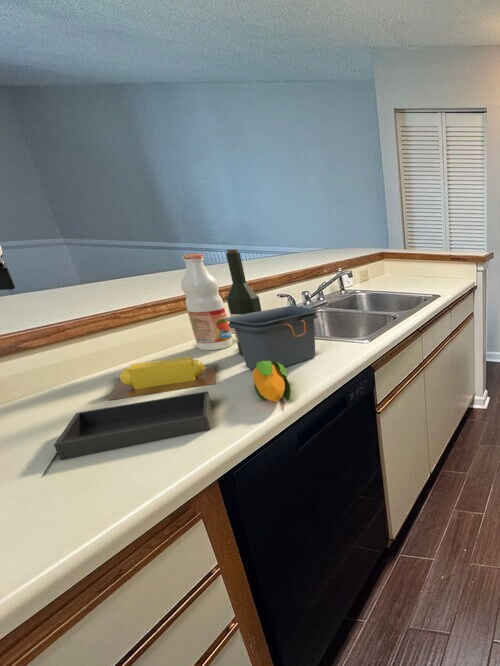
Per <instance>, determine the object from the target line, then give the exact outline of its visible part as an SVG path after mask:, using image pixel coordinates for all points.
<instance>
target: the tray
mask: <svg viewBox="0 0 500 666" xmlns="http://www.w3.org/2000/svg"><path fill="white" fill-rule="evenodd" d="M211 425H212V400H211V397H210V393H209V391H208V390H207V391H206V390H205V391H200V392H195V393H188V394H182V395H176V396H169V397H163V398H158V399H152V400H145V401H139V402H133V403H128V404H121V405H116V406H110V407H101V408H97V409H91V410H84V411H79V412H78V411H77V412H76V413H75V414H74V415H73V416H72V419H70V421H69V422H68V424H67V425H66V427H65V428H64V430H63V431H62V432H61V434H60V436H59V437H58V438H57V440H56V441H55V442H54V444H53V446H54V449H55V451H56V453H57V455H58V457H59V459H60V461H64V460H65V461H66V460H69V459H76V458H79V457H84V456H90V455H95V454H100V453H104V452H110V451H113V450H119V449H124V448H130V447H134V446H139V445H144V444H148V443H153V442H158V441H163V440H167V439H174V438H178V437H182V436H187V435H192V434H197V433H202V432H208V431H211Z"/></svg>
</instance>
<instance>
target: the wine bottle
mask: <svg viewBox="0 0 500 666" xmlns="http://www.w3.org/2000/svg"><path fill="white" fill-rule="evenodd" d="M225 255H226V259H227V264H228V269H229V274H230V277H231V282H232V284H231V286H230V289H229V291H228V293H227V296H226V297H225V299H226V304H227V307H228V311H229V315H230V316H229V317H232V316H237V315H243V314H248V313H253V312H259V311H263V310H262V306H261V300H260V297H259V295H258V294H257V293H256V292H255V291H254V289H252V287H251V286H250V285H249V284H248V283H247V281H246V280H247V279H246V275H245V271H244V267H243V262H242V257H241V252H239V251H238V249H237V248H235V249H234V248H233V249H231V248H229V249H227V250H226V252H225ZM233 333H234V336H235V341H236V345H237V348H238V353H239V354H240V356H241V357H243V353H242V350H241V347H240V344H239V341H238V338H237V335H236V332H235V329H233Z"/></svg>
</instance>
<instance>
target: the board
mask: <svg viewBox="0 0 500 666" xmlns="http://www.w3.org/2000/svg"><path fill="white" fill-rule="evenodd" d="M212 385H216V366H211V367H205V370H204V372H203V374H201V375H200V376H197V377H196V380H194V381H187V382H180V383H174V384H167V385H161V386H154V387H147V388H141V389H134V386H129V385H126V384H124V383H123V382H122V381H121V379H120V380H119V381H118V382H117V384H116V385H115V387H114V389H113V391H112V392H111V394H110V395H109V397H108V399H107V402H111V401H117V400H125V399H131V398H136V397H143V396H150V395H155V394H161V393H167V392H174V391H180V390H181V391H182V390H187V389H194V388H199V387H205V386H212Z"/></svg>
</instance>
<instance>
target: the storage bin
mask: <svg viewBox="0 0 500 666" xmlns="http://www.w3.org/2000/svg"><path fill="white" fill-rule="evenodd" d="M318 311H319V309H317V308H312V307H306V306H298V305H287V306H281V307H276V308H275V307H274V308H271V309H265V310H262V311H259V312H253V313H248V314H243V315H237V316H232V317H231V316H229V317H228V316H227V318H226V320H227V321H228V324H229V328H230V329H233V330H234V329H235V332H236V335H237V338H238V341H239V344H240V347H241V350H242V353H243V356H242V357H243V360H244V362H245V366H246V368H247V369H249V370H253V371H254V369H255V368H256V367H257V365H256V364H257V363H259V362H261V361H271V363H273V362H278V363H280V364H281V365H283V366H284V368H286V367H289V366H292V365H295V364H298V363H301V362H303V361H306V360H310V359H312V358H314V357H316V335H315V334H316V333H315V319H318V314H317V312H318ZM235 332H234V333H235Z"/></svg>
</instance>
